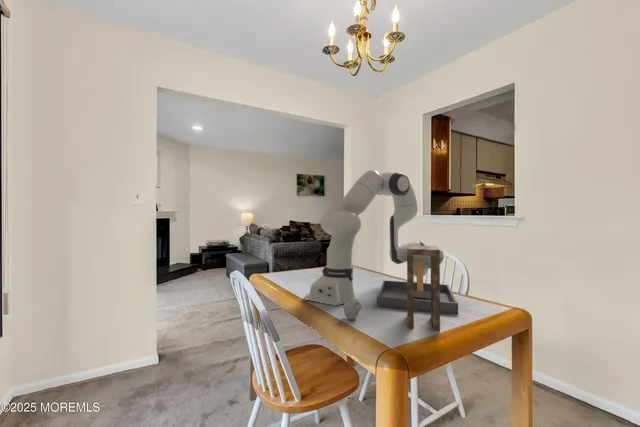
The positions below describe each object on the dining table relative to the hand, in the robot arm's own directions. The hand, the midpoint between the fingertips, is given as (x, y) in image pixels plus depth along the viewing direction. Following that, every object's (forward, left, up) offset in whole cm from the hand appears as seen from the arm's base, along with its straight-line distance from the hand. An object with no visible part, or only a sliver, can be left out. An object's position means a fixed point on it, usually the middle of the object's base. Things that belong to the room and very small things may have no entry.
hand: (420, 248), depth 126 cm
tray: (-2, -1, -22) cm, 22 cm away
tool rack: (0, -29, -22) cm, 37 cm away
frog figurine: (-24, -33, -22) cm, 47 cm away
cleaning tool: (0, +3, -13) cm, 14 cm away
